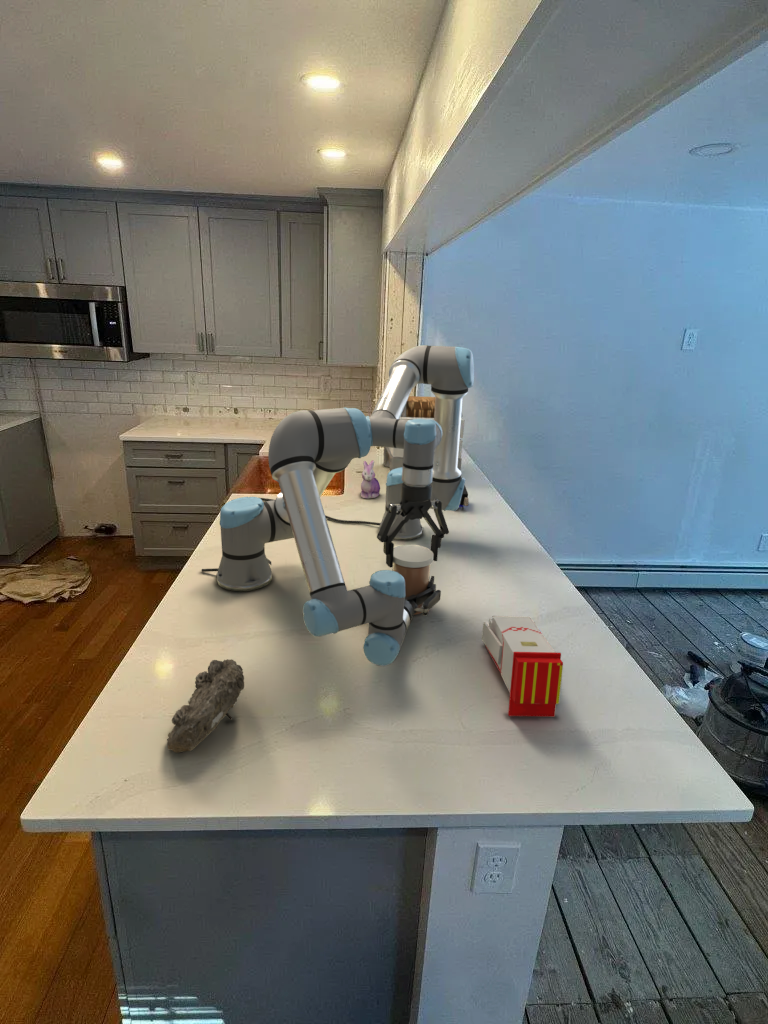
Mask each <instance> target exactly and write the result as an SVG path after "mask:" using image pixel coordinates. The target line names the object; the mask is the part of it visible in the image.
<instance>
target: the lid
mask: <svg viewBox="0 0 768 1024" xmlns="http://www.w3.org/2000/svg"><path fill="white" fill-rule="evenodd" d="M430 549H431V548H428V547H426V546H423V545H419V544H401V545H397V546H394V551H393V562H394V563H396V564H398V565H400V566H404V567H410V568H419V567H425V566H428V565H430V564H432V563H434V561H433V557H434V554H433V552H432V551H431V550H430ZM430 566H431V565H430Z"/></svg>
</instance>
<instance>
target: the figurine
mask: <svg viewBox="0 0 768 1024" xmlns="http://www.w3.org/2000/svg"><path fill="white" fill-rule="evenodd" d="M362 464H363V470H362V472H361V478H362V481H361V483H360V490H361V491H360V496H361V498H362V499H373V498H377V497H379V496H380V491H381V484H380V481H379V480H378V478H376V473H375V471H374V465H375V460H370V462H369V464H368V462H367V461H366V460H364V461H363V463H362Z"/></svg>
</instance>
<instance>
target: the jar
mask: <svg viewBox="0 0 768 1024" xmlns="http://www.w3.org/2000/svg"><path fill="white" fill-rule="evenodd" d="M431 564H432V563H431ZM431 564H430V565H428V566H425V567H419V568H410V567H404V566H400V565H398V564H396V563H394V562H393V567H391V569H392V570H391V571H395V572H398V573H399V574H400V575H402V576H403V577H404V579H405V594H406V596H405V597H409V596H411V595H417V594H419V593H421V592H423V591H425V590H427V587H428V584H429V581H430V579H431V576H430V575H431ZM420 605H422V604H420ZM420 605H418V606H420ZM420 614H423V612H418V611H417V612H416V613H415V614H414V615H413V616H415V615H420Z"/></svg>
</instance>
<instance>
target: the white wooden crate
mask: <svg viewBox="0 0 768 1024" xmlns="http://www.w3.org/2000/svg"><path fill="white" fill-rule="evenodd" d="M434 414H435V396H415V395H414V396H413V395H412V396H411V395H409V397H408V400H407V402H406V404H405V407H404V409H403V412H402V414H401V416H400V419H401V420H412V419H431V420H434ZM464 429H465V419H464V418H463V412H462V413H461V425H460V438H459V451H458V464H457V468H458V469H459V470H460V471H461V472H462V461H463V460H462V453H463V442H464V441H463V440H462V439H463V438H464V431H465V430H464ZM403 453H404V449H399V448H390V447H383V466H384V467H388V468H389V472H390V471H391V470H393V469H396V468H401V467H403Z"/></svg>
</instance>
